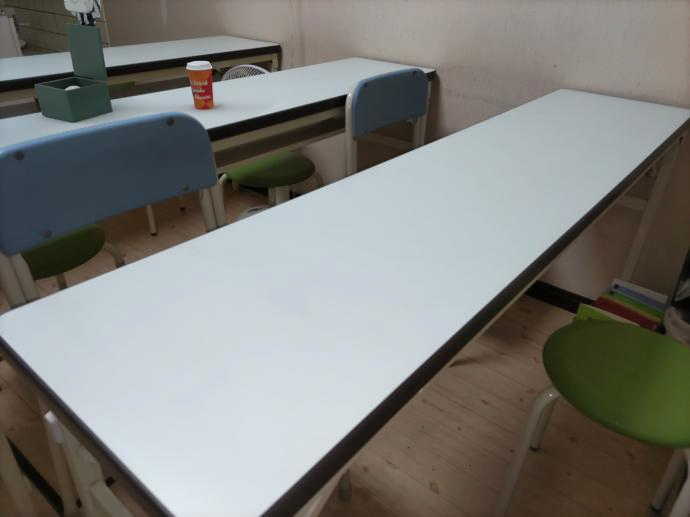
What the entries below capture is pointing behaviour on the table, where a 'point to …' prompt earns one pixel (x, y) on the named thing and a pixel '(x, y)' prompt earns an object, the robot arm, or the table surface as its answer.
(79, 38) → the bin lid
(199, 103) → the paper cup
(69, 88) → the white egg
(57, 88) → the bin
